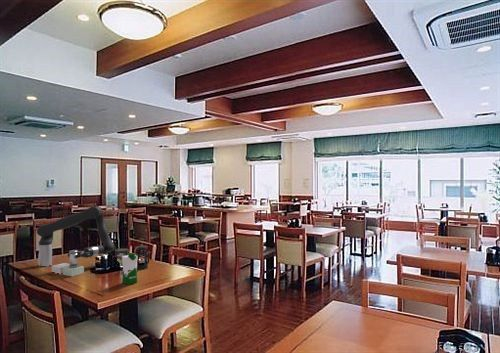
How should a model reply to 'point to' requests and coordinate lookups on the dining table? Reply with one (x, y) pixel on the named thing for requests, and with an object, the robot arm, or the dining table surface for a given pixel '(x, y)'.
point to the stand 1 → (59, 268)
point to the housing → (73, 259)
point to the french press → (141, 265)
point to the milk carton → (129, 269)
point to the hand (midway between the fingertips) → (71, 255)
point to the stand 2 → (73, 271)
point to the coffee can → (121, 254)
